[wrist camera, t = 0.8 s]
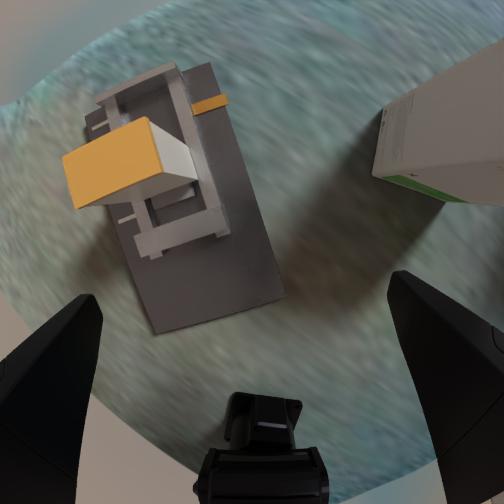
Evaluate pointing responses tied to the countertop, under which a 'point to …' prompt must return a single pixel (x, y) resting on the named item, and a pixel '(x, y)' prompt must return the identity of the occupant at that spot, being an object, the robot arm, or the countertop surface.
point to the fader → (131, 168)
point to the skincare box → (449, 133)
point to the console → (191, 205)
